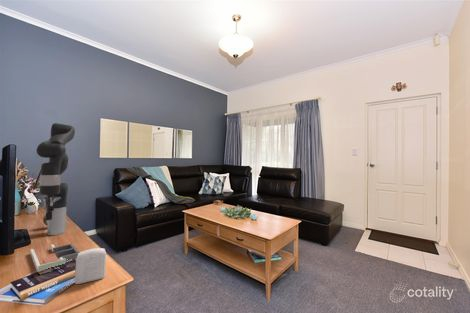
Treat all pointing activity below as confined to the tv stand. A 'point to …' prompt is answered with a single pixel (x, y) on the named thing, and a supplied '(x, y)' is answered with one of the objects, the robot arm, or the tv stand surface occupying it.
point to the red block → (50, 259)
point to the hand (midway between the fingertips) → (48, 219)
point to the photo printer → (90, 265)
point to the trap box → (61, 252)
